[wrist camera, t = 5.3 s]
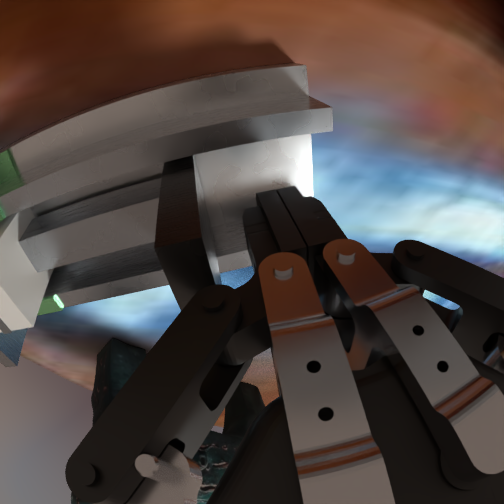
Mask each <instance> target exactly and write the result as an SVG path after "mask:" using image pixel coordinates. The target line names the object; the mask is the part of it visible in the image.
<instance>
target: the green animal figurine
mask: <svg viewBox="0 0 504 504" xmlns="http://www.w3.org/2000/svg"><path fill="white" fill-rule="evenodd" d="M145 357H146V352H145V350H143V349H141V348H137V347H132V346H130V345H127V344H125V343H123V342H121V341H119V340H117V339H115V338H113V339H112V340H111V341H110V342H108V344H107V345H106V346H105V347H104V348H103V349H102V351H101V352H100V353H99V354H98V355H97V365H96V375H95V382H94V389H93V393H92V397H91V402H92V408H93V415H94V416H93V426H94V424H95V423H96V422H97V420H98V419H99V418H100V416H101V415H102V414H103V412H104V411H105V410H106V408H107V407H108V406H109V404H110V403H111V402H112V400H113V399H114V398H115V396H116V395H117V394H118V392H119V391H120V390H121V388H122V387H123V386H124V384H125V383H126V382H127V381H128V379H129V378H130V377H131V375H132V374H133V373H134V371H135V370H136V369H137V367H138V366H139V365H140V364H141V362H142V361H143V360H144V358H145ZM264 408H265V405H264V403H263V400H262V397H261V394H260V392H259V389H258V388H257V387H256V386H254V385H251V384H248V383H244V382H240V383H239V385H238V386H237V388H236V390H235V391H234V393H233V395H232V396H231V398H230V400H229V401H228V403H227V405H226V406H225V419H224V429H223V432H222V434H221V433H217V432H214V431H211V430H210V432H209V434H208V435H207V437H206V438H205V440H204V441H203V443H202V444H201V446H200V448H199V449H198V451H197V452H196V454H195V455H194V457H193V458H192V459H193V460H194V461H195V462H196V463H197V464H198V465H199V467H200V469H201V472H202V485H201V487H200V489H199V492H198V495H197V504H206V503H207V501H208V500H209V498H210V496H211V495H212V493H213V491H214V490H215V488H216V486H217V484H218V483H219V481H220V479H221V477H222V476H223V474H224V472H225V470H226V469H227V467H228V465H229V463H230V462H231V460H232V458H233V456H234V454H235V452H236V451H237V449H238V447H239V445H240V443H241V441H242V439H243V437H244V436H245V434H246V432H247V430H248V428H249V426H250V425H251V423H252V422H253V420H254V419H255V417H256V416H257V415H258V414H259V413H260V412H261V411H262V410H263V409H264ZM71 504H92V503H88V502H85V501H83V500H81V499H79V498H78V497H76V496H75V495H74V494H73V492H72V493H71Z"/></svg>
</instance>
